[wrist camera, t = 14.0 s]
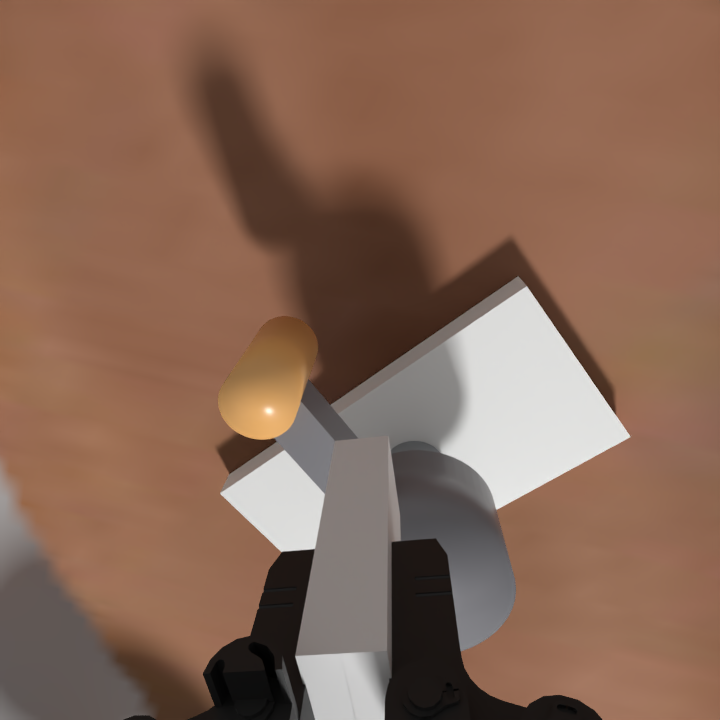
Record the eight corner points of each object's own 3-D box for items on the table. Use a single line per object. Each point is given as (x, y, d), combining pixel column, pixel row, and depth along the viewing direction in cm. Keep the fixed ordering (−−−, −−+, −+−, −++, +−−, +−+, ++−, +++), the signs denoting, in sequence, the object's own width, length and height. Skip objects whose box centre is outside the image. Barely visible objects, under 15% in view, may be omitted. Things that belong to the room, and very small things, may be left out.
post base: (334, 576, 38) (324, 652, 32) (229, 474, 35) (198, 539, 29) (616, 419, 31) (664, 480, 26) (518, 275, 28) (548, 310, 23)
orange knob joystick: (518, 515, 28) (550, 613, 23) (397, 575, 31) (398, 678, 25) (333, 273, 24) (313, 319, 18) (206, 366, 26) (152, 433, 20)
